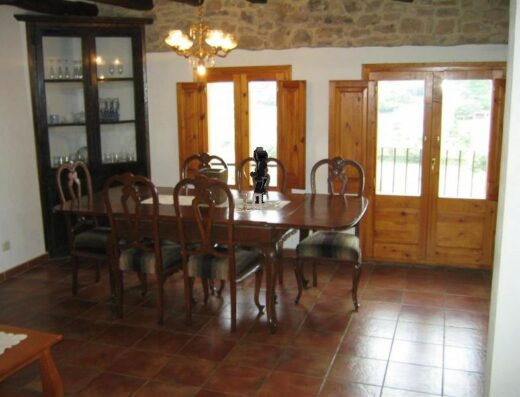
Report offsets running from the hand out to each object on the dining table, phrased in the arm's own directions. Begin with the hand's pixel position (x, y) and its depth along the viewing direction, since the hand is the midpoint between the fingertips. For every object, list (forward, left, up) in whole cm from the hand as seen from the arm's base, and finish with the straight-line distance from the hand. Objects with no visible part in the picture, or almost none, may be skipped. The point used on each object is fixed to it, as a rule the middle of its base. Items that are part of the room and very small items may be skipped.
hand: (261, 189), depth 408 cm
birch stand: (+16, -17, -13) cm, 27 cm away
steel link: (+13, -7, -13) cm, 20 cm away
